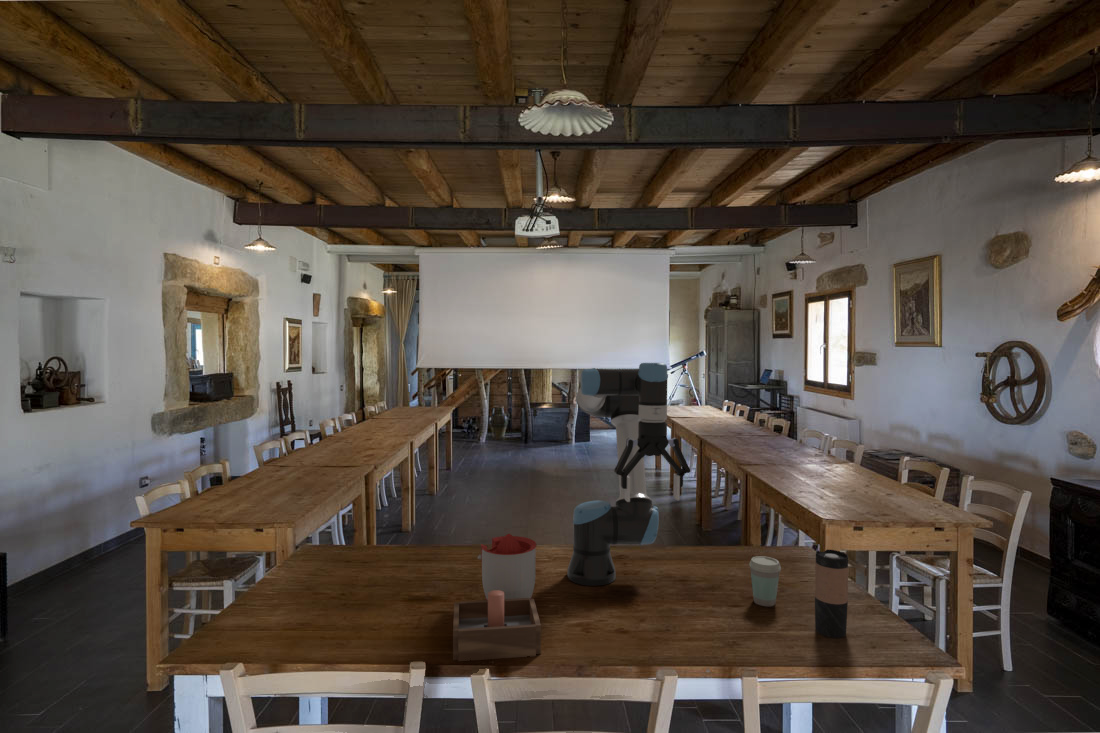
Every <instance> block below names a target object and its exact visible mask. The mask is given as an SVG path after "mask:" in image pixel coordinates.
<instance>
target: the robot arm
mask: <svg viewBox="0 0 1100 733" xmlns="http://www.w3.org/2000/svg"><path fill="white" fill-rule="evenodd" d="M668 378H669V374H668V366H667V364H666V363H665V362H640V363H639V364H638V368H595V367H591V368H583V369H582V370H581V372H580V387H579V389H578V390H577V393H576V396H575V400H576V401H575V402H576V404H577V406H578V408H580V410H581V411H583V412H584V413H585V414H586V415H590V416H592V417H598V418H610V423H611V425H613V426H614V427H615V430H616V431H615V434H616V450H617V451H616V452H617V454H616V455H617V464H616V465H615V468H614V469H613V472H614V474H616V475H617V476H618V482H619V483H618V486H619V497H618V498H617V499H616V500H615V506H612V505H611V502H609V501H606V500H590V501H585V502H582V503H579V504H577V506H576V507H575V508H574V510H573V518H572V524H573V532H572V533H573V534H572V537H573V538H572V540H573V543H572V545H573V547H572V548H573V549H572V550H573V551H572V554H571V558H570V561H569V564H568V567H567V578H568V580H569V581H571V582H573V583H575V584H577V585H581V586H591V587H595V586H596V587H597V586H604V585H608V584H611V583H613V582H614V581H615V580H616V575H617V574H616V567H615V565H614V561H613V558H612V555H611V545H618V546H619V545H620V546H621V545H622V546H623V545H639V546H642V545H651V544H653V543H654V542H655V541H656V539H657V536H658V531H659V521H660V520H659V517H660V515H659V514H660V513H659V508H658V507H657V506H656V505H653V500H652V499H651V497H649V496H648V495H647V484H646V482H647V481H646V472H645V471H646V470H645V469H646V468H645V459H644V458H645V456H647V457H652V456H655V457H660V455H661V456H662V457H663V458H664V459H665V460H666V462H667V463H668V464H669V466H670V467H671V468H673V470H674V471H675V472H676V473H673V493H672V494H673V496H672V497H673V499H675V500H676V501H680V500H681V497H680V496H681V494H680V491H681V488H682V487H683V486H684V476H685V474H688V473H689V474H690V472H691V468H690V467H689V464H688V462H687V460H686V459H685V456H684V454H683V452H682V449H681V447H680V442H679V438H676V437H672V438H667V437H668V423H667V421H666V420H667V419H668ZM668 445H669V446H670V447H671V448H672V450H673V452H674V454H675V457H676V458H677V460H678V462H679V465H680V466H681V467H680V466H679V465H678V464H677V462H676V461H675V460H674V459H673V458H672V456H671V455H670V453H669V452H668V451H667V450H666V448H667V447H668Z"/></svg>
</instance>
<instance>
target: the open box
mask: <svg viewBox="0 0 1100 733" xmlns="http://www.w3.org/2000/svg"><path fill="white" fill-rule="evenodd" d="M452 623H453V624H452V625H453V626H452V628H453V629H452V660H453V661H457V662H468V661H469V662H470V660H471V661H481V660H482V661H483V660H497V659H498V660H499V659H513V658H515V659H516V658H525V657H527V656H530V657H537V655H536V654H540V655H542V643H541V642H542V624H541V620H540V617H539V613H538V609H537V606H536V602H535V599H534V598H531V599H529V598H516V599H504V626H499V627H488V600H486V599H485V600H481V599H480V600H465V601H464V600H462V601H459V602H454V605H453V622H452ZM527 658H528V657H527Z"/></svg>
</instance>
